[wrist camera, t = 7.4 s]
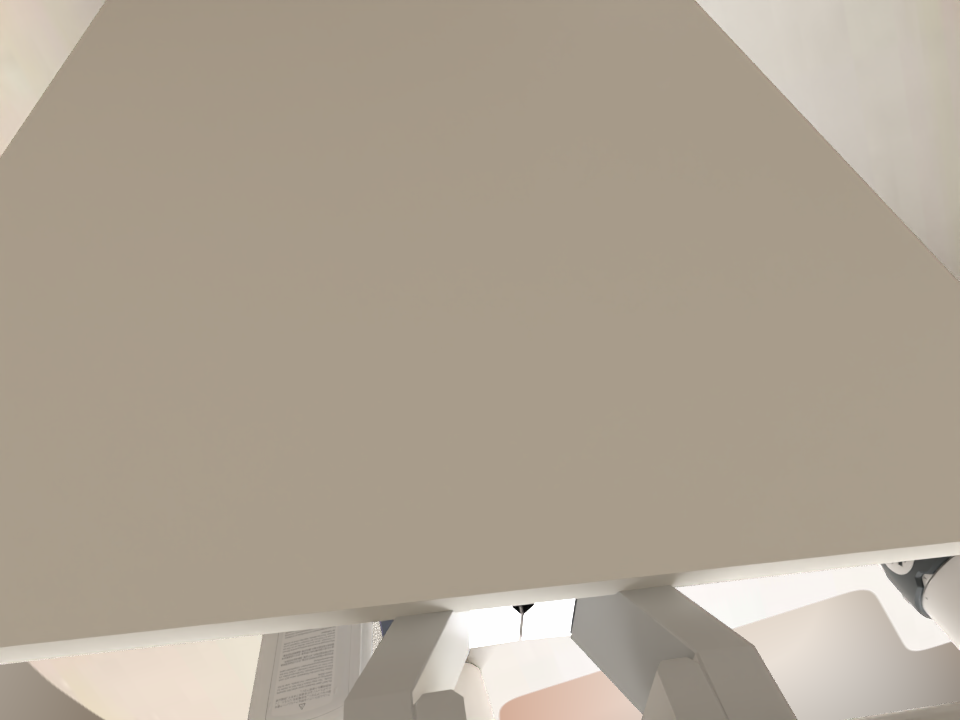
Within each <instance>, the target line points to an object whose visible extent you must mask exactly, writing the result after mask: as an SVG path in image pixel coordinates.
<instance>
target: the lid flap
mask: <svg viewBox="0 0 960 720" xmlns="http://www.w3.org/2000/svg"><path fill="white" fill-rule="evenodd" d="M955 555H960V282H959V281H958V280H957V279H956V278H955V277H954V276H953V275H952V274H951V273H950V272H949V271H948V270H947V269H946V267H945V266H944V265H943V264H942V263H941V262H940V261H939V260H938V259H937V258H936V257H935V256H934V255H933V254H932V253H931V251H930V250H929V249H928V248H927V247H926V246H925V245H924V244H923V243H922V242H921V241H920V240H919V239H918V238H917V237H916V235H915V234H914V233H913V232H912V231H911V230H910V229H909V228H908V227H907V226H906V225H905V224H904V223H903V222H902V221H901V219H900V218H899V217H898V216H897V215H896V214H895V213H894V212H893V211H892V210H891V209H890V208H889V207H888V206H887V205H886V204H885V202H884V201H883V200H882V199H881V198H880V197H879V196H878V195H877V194H876V193H875V192H874V191H873V190H872V189H871V188H870V186H869V185H868V184H867V183H866V182H865V181H864V180H863V179H862V178H861V177H860V176H859V175H858V174H857V173H856V172H855V170H854V169H853V168H852V167H851V166H850V165H849V164H848V163H847V162H846V161H845V160H844V159H843V158H842V157H841V156H840V154H839V153H838V152H837V151H836V150H835V149H834V148H833V147H832V146H831V145H830V144H829V143H828V142H827V141H826V140H825V139H824V137H823V136H822V135H821V134H820V133H819V132H818V131H817V130H816V129H815V128H814V127H813V126H812V125H811V124H810V123H809V121H808V120H807V119H806V118H805V117H804V116H803V115H802V114H801V113H800V112H799V111H798V110H797V109H796V108H795V107H794V105H793V104H792V103H791V102H790V101H789V100H788V99H787V98H786V97H785V96H784V95H783V94H782V93H781V92H780V91H779V89H778V88H777V87H776V86H775V85H774V84H773V83H772V82H771V81H770V80H769V79H768V78H767V77H766V76H765V75H764V74H763V72H762V71H761V70H760V69H759V68H758V67H757V66H756V65H755V64H754V63H753V62H752V61H751V60H750V59H749V58H748V56H747V55H746V54H745V53H744V52H743V51H742V50H741V49H740V48H739V47H738V46H737V45H736V44H735V43H734V42H733V40H732V39H731V38H730V37H729V36H728V35H727V34H726V33H725V32H724V31H723V30H722V29H721V28H720V27H719V26H718V24H717V23H716V22H715V21H714V20H713V19H712V18H711V17H710V16H709V15H708V14H707V13H706V12H705V11H704V10H703V8H702V7H701V6H700V5H699V4H698V3H697V2H696V1H695V0H106V2H105V3H104V4H103V6H102V7H101V9H100V10H99V12H98V13H97V15H96V16H95V18H94V19H93V21H92V22H91V24H90V25H89V27H88V28H87V30H86V31H85V33H84V34H83V36H82V37H81V39H80V40H79V42H78V43H77V44H76V46H75V47H74V49H73V50H72V52H71V53H70V55H69V56H68V58H67V59H66V61H65V62H64V64H63V65H62V67H61V68H60V70H59V71H58V73H57V74H56V76H55V77H54V79H53V80H52V82H51V83H50V85H49V86H48V87H47V89H46V90H45V92H44V93H43V95H42V96H41V98H40V99H39V101H38V102H37V104H36V105H35V107H34V108H33V110H32V111H31V113H30V114H29V116H28V117H27V119H26V120H25V122H24V123H23V125H22V126H21V127H20V129H19V130H18V132H17V133H16V135H15V136H14V138H13V139H12V141H11V142H10V144H9V145H8V147H7V148H6V150H5V151H4V153H3V154H2V156H1V157H0V664H9V663H17V662H26V661H35V660H44V659H52V658H61V657H70V656H79V655H88V654H96V653H105V652H114V651H123V650H131V649H140V648H149V647H158V646H166V645H175V644H184V643H193V642H201V641H210V640H219V639H228V638H237V637H245V636H254V635H263V634H272V633H280V632H289V631H298V630H307V629H315V628H324V627H333V626H342V625H350V624H359V623H368V622H377V621H386V620H394V619H395V617H400V616H408V615H416V614H425V613H434V612H443V611H451V610H453V611H454V613H456V612H464V611H473V610H482V609H491V608H500V607H508V606H517V605H526V604H535V603H543V602H552V601H561V600H570V599H578V598H587V597H596V596H605V595H613V594H616V593H617V592H619V591H625V590H634V589H642V588H650V587H659V586H668V585H671V586H673V587H674V588H675V587H684V586H692V585H701V584H710V583H719V582H727V581H736V580H745V579H754V578H762V577H771V576H780V575H789V574H798V573H806V572H815V571H824V570H833V569H841V568H850V567H859V566H868V565H876V564H885V563H894V562H903V561H911V560H920V559H929V558H938V557H947V556H955Z"/></svg>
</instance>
